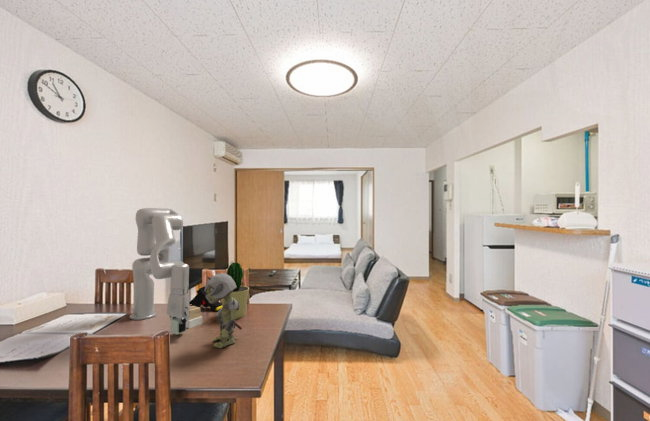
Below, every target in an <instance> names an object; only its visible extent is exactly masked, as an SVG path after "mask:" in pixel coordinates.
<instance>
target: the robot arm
mask: <svg viewBox="0 0 650 421" xmlns="http://www.w3.org/2000/svg"><path fill="white" fill-rule="evenodd" d="M135 223H136V226H137V242H136V252H137V254H138V256H143V257H141V258H138V259H136V260H133V262H132V265H131V267H132V268H131V269H132V274H133V307H132V308H131V309H130V310H131V311H132V314H130V315H129V319H131V320H135V321H137V320H139V321H140V320H146V319H151V318H154V317H155V316H157V314H158V312H157V311H155V309H154V307H155V304H154V302H155V281H154V280H153V278H155V279H156V280H163V279H164V280H165V279H170V291H169V292H170V293H169V295H168V299H167V307H166V308H167V309H166V311H167V312H166V313H167V315H168V316H169V318H170V322H171V319H173V318H176V317H177V318H179V320H180V324H179V333H180V334H181V332H182V333H184V332H183V331H185V330H186V331H187V327H186V322H187V320H188V319H189V318H190V315H189V307H190V305H189V302H190V297H189V296H190V295H189V286H190V285H189V281H190V280H189V279H190V278H189V277H190V266H189V264H187V263H184V261H180V260H176V261H175V260H173V261H170V252H171V251H170V248H171V247H172V246H174V245H175V244H176V237H175V232H174V231H180V230H181V229H183V226H184V220H183V218H182V215H180V214H179V213H178V212H176V211H175V210H173V209H171V208H162V207H161V208H160V207H159V208H156V207H144V208H143V207H142V208H139V209H138V210H137V211H136V213H135ZM145 256H146V257H145ZM147 256H149V257H147ZM150 276H152V277H153V278H152V277H150ZM183 315H184V316H183ZM183 317H184V319H183V320H182V318H183ZM186 331H185V332H186Z"/></svg>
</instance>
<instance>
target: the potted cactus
mask: <svg viewBox="0 0 650 421" xmlns="http://www.w3.org/2000/svg"><path fill="white" fill-rule="evenodd" d="M226 269H227V270H226V274H227V275H229V276H231V277H232V279H233V280H234V282H235V283H236V286H237V287H236V288H235V289H234V290H233V292H232V293H231V294H230V296H231V297H233V298H235V299H236V300H237V301H238V303H239V309H238V310H237V311H236V316H235V320H238V319H241V318H244V317H245V316H246V310H247V303H248V299H249V298H248V297H249V292H250V287H249V286H244V285H242V283H243V278H244V274H245V272H244V270H245V269H244V270H243V267H242V264H240V262H235V261H234V262H233V261H232V262H231V263H230V264H228V267H227V268H226ZM220 301H221V303H222V307H223V305H224V303H225V300H224V298H222V299H221V300H220Z"/></svg>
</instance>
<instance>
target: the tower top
mask: <svg viewBox="0 0 650 421" xmlns="http://www.w3.org/2000/svg"><path fill="white" fill-rule="evenodd" d="M189 315H190V318H189V319H188V320H191V319H195V318H198V317H200V316H202V315H201V306H200V307H196V306H189ZM183 316H184V315H183Z"/></svg>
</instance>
